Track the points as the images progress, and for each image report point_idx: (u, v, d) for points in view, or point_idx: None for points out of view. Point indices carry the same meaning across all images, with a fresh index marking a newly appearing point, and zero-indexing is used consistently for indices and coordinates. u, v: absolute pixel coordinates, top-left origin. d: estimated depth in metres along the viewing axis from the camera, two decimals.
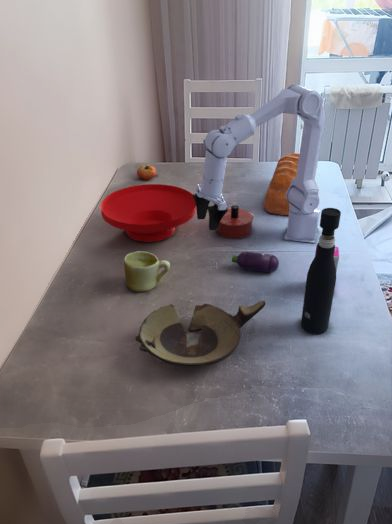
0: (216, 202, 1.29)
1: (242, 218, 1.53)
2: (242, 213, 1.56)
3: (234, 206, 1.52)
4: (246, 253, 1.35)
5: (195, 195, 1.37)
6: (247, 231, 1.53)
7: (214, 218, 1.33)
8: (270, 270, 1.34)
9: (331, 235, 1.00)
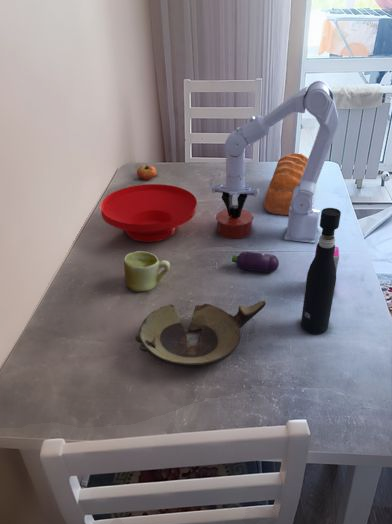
0: (252, 191, 1.46)
1: (242, 218, 1.53)
2: (242, 213, 1.56)
3: (234, 206, 1.52)
4: (246, 253, 1.35)
5: (225, 197, 1.48)
6: (247, 231, 1.53)
7: None
8: (270, 270, 1.34)
9: (331, 235, 1.00)
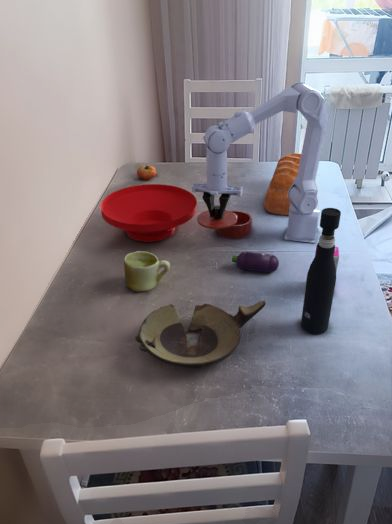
0: (234, 191, 1.35)
1: (225, 220, 1.42)
2: (225, 214, 1.45)
3: (216, 207, 1.42)
4: (246, 253, 1.35)
5: (206, 196, 1.38)
6: (247, 231, 1.53)
7: None
8: (270, 270, 1.34)
9: (331, 235, 1.00)
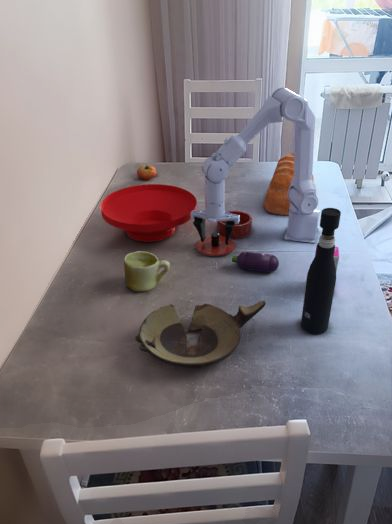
0: (232, 219, 1.39)
1: (223, 246, 1.47)
2: (223, 240, 1.49)
3: (214, 234, 1.46)
4: (246, 253, 1.35)
5: (197, 223, 1.42)
6: (247, 231, 1.53)
7: None
8: (270, 270, 1.34)
9: (331, 235, 1.00)
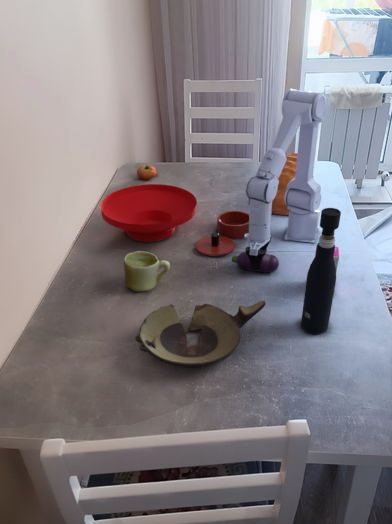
0: (250, 246, 1.28)
1: (223, 246, 1.47)
2: (223, 240, 1.49)
3: (214, 234, 1.46)
4: None
5: None
6: (247, 231, 1.53)
7: (254, 259, 1.32)
8: (270, 270, 1.34)
9: (331, 235, 1.00)
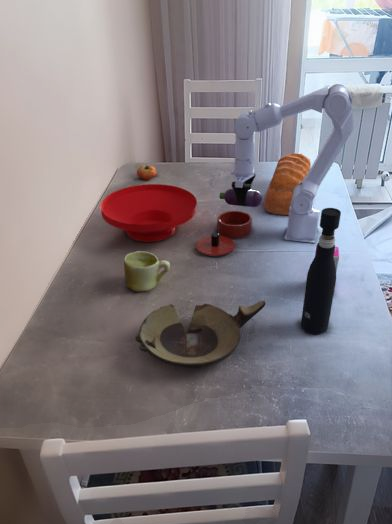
0: (235, 179, 1.41)
1: (223, 246, 1.47)
2: (223, 240, 1.49)
3: (214, 234, 1.46)
4: (232, 189, 1.48)
5: None
6: (247, 231, 1.53)
7: (240, 193, 1.45)
8: (254, 204, 1.47)
9: (331, 235, 1.00)
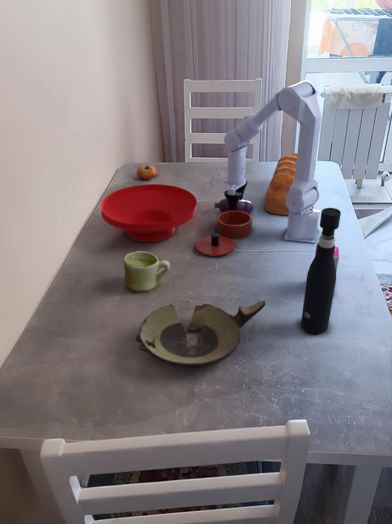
0: (228, 188, 1.56)
1: (223, 246, 1.47)
2: (223, 240, 1.49)
3: (214, 234, 1.46)
4: (226, 199, 1.64)
5: None
6: (247, 231, 1.53)
7: (232, 201, 1.60)
8: None
9: (331, 235, 1.00)
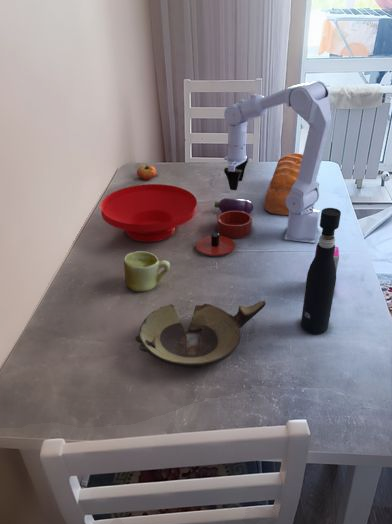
0: None
1: (223, 246, 1.47)
2: (223, 240, 1.49)
3: (214, 234, 1.46)
4: (226, 198, 1.65)
5: None
6: (247, 231, 1.53)
7: (232, 179, 1.55)
8: (245, 211, 1.63)
9: (331, 235, 1.00)
